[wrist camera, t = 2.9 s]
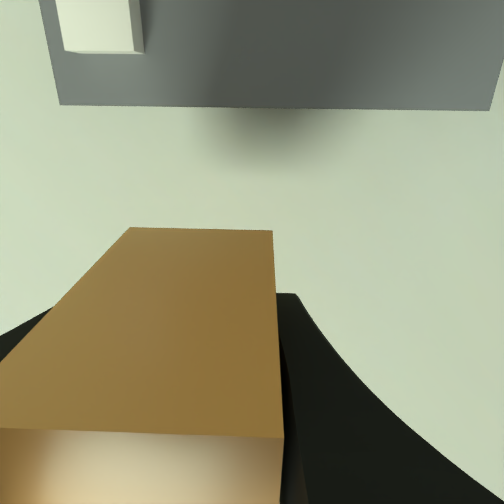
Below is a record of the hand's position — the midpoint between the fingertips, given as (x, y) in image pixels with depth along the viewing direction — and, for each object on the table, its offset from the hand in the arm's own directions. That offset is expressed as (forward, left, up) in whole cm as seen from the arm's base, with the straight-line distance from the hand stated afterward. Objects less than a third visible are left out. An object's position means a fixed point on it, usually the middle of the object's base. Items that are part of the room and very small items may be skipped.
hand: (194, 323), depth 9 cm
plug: (0, 0, -2) cm, 2 cm away
